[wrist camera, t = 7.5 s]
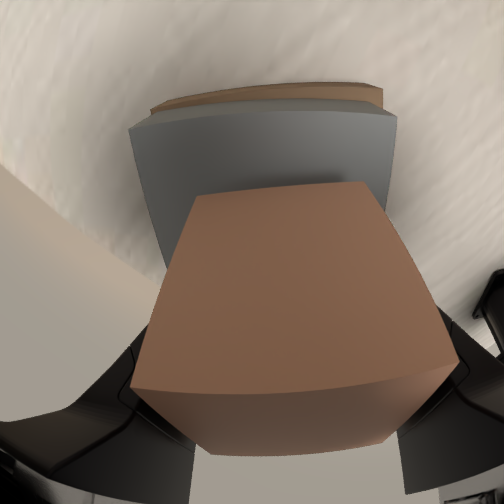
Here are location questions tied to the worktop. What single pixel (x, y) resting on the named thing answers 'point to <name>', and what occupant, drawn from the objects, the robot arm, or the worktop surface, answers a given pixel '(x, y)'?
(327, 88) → the tower base
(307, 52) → the worktop surface
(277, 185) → the tower top
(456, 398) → the robot arm
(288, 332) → the terracotta block
